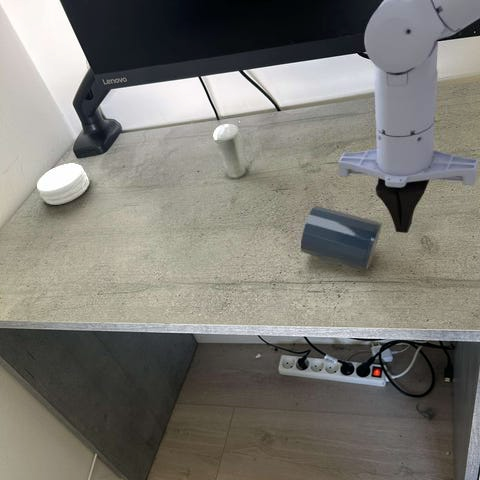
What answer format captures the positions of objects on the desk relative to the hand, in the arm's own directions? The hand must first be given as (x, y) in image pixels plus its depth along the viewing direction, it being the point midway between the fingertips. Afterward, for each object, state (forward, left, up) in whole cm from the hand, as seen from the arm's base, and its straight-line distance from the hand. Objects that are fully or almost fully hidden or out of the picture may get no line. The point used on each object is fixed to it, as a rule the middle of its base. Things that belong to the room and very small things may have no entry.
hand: (403, 227), depth 60 cm
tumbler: (+3, -1, -4) cm, 5 cm away
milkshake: (+24, -31, -7) cm, 40 cm away
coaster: (+61, -36, -7) cm, 71 cm away
